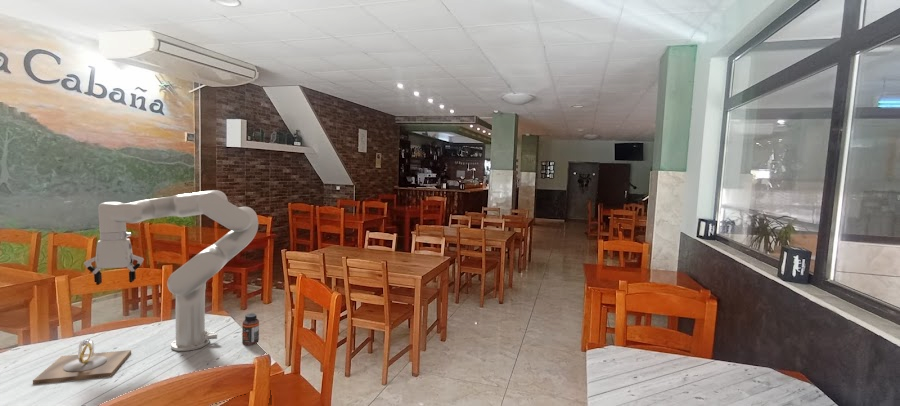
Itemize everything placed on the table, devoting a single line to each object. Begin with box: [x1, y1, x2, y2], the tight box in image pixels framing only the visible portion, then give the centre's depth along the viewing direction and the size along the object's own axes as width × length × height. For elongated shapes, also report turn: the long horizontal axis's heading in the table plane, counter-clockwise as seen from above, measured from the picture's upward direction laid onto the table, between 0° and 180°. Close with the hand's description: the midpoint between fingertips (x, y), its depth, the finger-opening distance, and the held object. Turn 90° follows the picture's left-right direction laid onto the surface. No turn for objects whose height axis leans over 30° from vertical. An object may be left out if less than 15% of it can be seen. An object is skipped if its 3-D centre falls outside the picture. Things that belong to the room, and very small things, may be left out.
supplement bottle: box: [241, 312, 260, 346], centre depth 165 cm, size 6×6×11 cm
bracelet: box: [77, 338, 95, 364], centre depth 140 cm, size 7×3×8 cm, turn 10°
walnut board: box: [32, 349, 132, 385], centre depth 141 cm, size 20×17×2 cm
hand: (115, 282), depth 153 cm, fingers open, 9 cm apart
